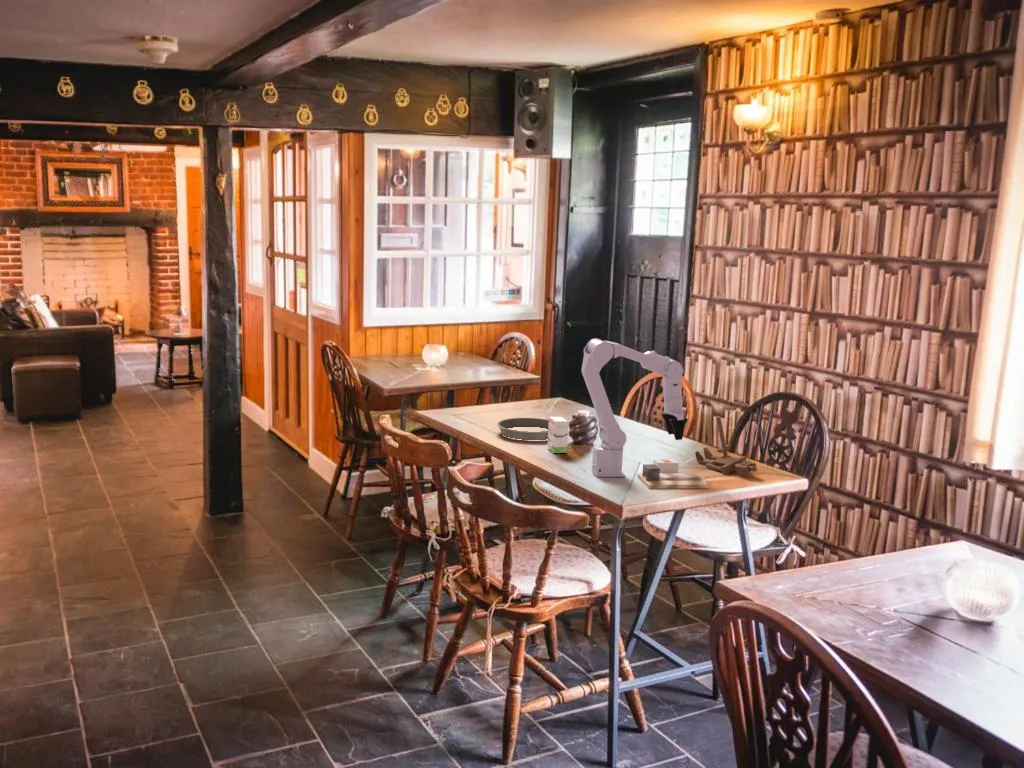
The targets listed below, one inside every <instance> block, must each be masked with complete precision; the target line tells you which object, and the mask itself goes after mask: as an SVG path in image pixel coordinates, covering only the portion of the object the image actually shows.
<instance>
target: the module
mask: <svg viewBox="0 0 1024 768" xmlns="http://www.w3.org/2000/svg"><path fill="white" fill-rule="evenodd" d="M679 463H680V462H678V461H677V460H676V459H675V458H653V463H652V464H655V465H657V466H658V467H659V468H660V473H679V465H680V464H679Z"/></svg>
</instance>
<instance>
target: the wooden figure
mask: <svg viewBox="0 0 1024 768" xmlns="http://www.w3.org/2000/svg"><path fill="white" fill-rule="evenodd" d="M715 418H716V423H717V428H718V432H719V433H718V435H719V438H720V443H721V447H719V448H718V449H717V450H716V452H717V453H719V454H722V456H715V455H713V454H712V452H711V451H710V450H709V449H708V447H703V448H702V449H703V453H704V456H703V455H702V454H701V453H700V451H699V450H697V451H695V452H694V453H695V457H692V458H691V459H689V460H687V461H684V463H685V464H686V463H688V462H690V461H692V460H695V459H696V463H697V462H699V463H698V464H701V463H702V464H701V465H705V468H706V467H707V468H706V469H708V468H710V469H709V470H714V471H719V472H721V474H722V473H723V474H722V475H728V474H730V473H732V472H734V471H735V472H736V474H738V475H743V476H749V475H750V473H751V472H757V471H758V468H757V463H756V461H751V460H747V457H746V455H743V456H741V457H733V456H731V455H728V451H729V450H730V449H731V448H732V444H726V440H725V439H726V438H725V434H724V428H723V424H722V418H721V416H716V417H715Z"/></svg>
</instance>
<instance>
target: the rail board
mask: <svg viewBox="0 0 1024 768" xmlns="http://www.w3.org/2000/svg"><path fill="white" fill-rule="evenodd" d="M637 478H638V479H639V480H640V481H641V482H642V483H643V484H644V486H646V487H647V489H709V484H708V483H707V482H706V481H704V480H703V479H702V477H701V476H700V475H699V474H696V473H689V472H688V473H687V472H685V473H684V472H683V473H682V472H681V473H679V472H678V473H660V468H659V467H658V466H657V465H655V464H653V463H652V464H651V463H649V464H646V463H645V464H642V472H641V473H640V472H639V473H637Z"/></svg>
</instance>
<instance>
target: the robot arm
mask: <svg viewBox="0 0 1024 768" xmlns="http://www.w3.org/2000/svg"><path fill="white" fill-rule="evenodd" d="M657 352H658V351H655V350H651V351H650V350H648V351H646V352H644V353H643V352H640V351H638V350H636V349H633V348H630V347H627V346H625V345H623V344H620V343H617V342H614V341H610V340H609V341H608V340H602V339H600V338H592V339H590V340H589V341H588V342H587V343H586V345H585V347H584V348H583V359H582V364H581V374H582V377H583V380H584V382H585V386H586V388H587V391H588V393H589V396H590V399H591V402H592V405H593V408H594V410H595V413H596V416H597V419H598V424H597V425H598V427H599V432H598V435H599V436H598V437H599V439H600V440H601V443H600V446H595V447H593V449H592V450H593V451H592V461H591V462H592V463H591V469H590V470H591V472H592V473H593V474H594V475H595V477H597V478H599V477H603V478H604V477H605V478H606V477H613V478H615V477H620V478H622V477H623V478H625V477H626V474H625V473H624V472H623V458H624V457H623V456H624V446H625V445H626V444H627V435H626V433H625V432H624V430H622V428H621V427H620V424H619V422H618V420H617V419H616V417H615V415H614V412H613V409H612V406H611V404H610V400H609V397H608V395H607V392H606V389H605V386H604V384H603V380H602V377H601V375H600V372H601V370H602V368H603V367H604V366H605V365H606V364H608V362H609V361H610V360H611V359H612V358H613V359H616V358H619V357H623V358H626V359H627V360H628V359H629V360H631V361H634V362H638V363H640V366H641V367H642V368H643V369H645V370H648V371H651V372H653V373H657V374H659V375H662V381H663V383H662V385H663V386H662V387H663V402H664V403H663V406H664V407H663V408H664V410H663V412H661V414H660V415H661V417H662V419H663V421H664V423H665V424H664V425H665V427H666V430H667V434H668V435H673V436H674V440H675V441H680V440H683V437H684V431H685V427H686V425H687V423H688V418H687V417H685V416H684V412H685V411H687V408H686V407H683V393H682V379H681V378H682V376H683V374H684V370H685V369H684V368H683V365H682V364H681V362H679V361H677V360H675V359H672V358H670V356H667V355H666V356H663V355H661V354H657Z"/></svg>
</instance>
